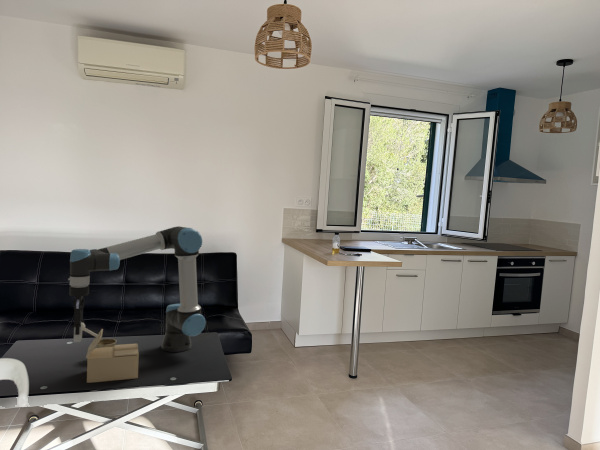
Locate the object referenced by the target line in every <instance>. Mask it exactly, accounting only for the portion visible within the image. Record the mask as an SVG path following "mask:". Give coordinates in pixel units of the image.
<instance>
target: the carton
mask: <svg viewBox="0 0 600 450" xmlns="http://www.w3.org/2000/svg"><path fill="white" fill-rule="evenodd" d="M139 357H140V355H139V345H138V343H126V344H115V347H104V348H97V347H95V348H94V350H93V351H92V352H91V354H90V355H89V357H88V358H87V361H86V362H87V367H86V369H87V370H86V384H87V383H89V384H90V383H101V382H109V381H110V382H113V381H121V380H131V379H138V378H139Z"/></svg>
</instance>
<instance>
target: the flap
mask: <svg viewBox="0 0 600 450" xmlns="http://www.w3.org/2000/svg"><path fill="white" fill-rule="evenodd" d="M81 331H82V332H85V333H88V334H90V335H91V336H93V337H95V338H94V339H93V340H92V342H91V344H90V345H89V346H88V348H87V351H86V355H85V359H88V357H89V355H90V354H91V352H92V351H93V350H94V348H97V346H96V345H97V344H98V343H99V341H100V340H101V339H103V332H104V329H103V328H101V329H100V331H99V332H98V333H95V332H94V331H92V330H90V329H88V328H86V324H85V322H84V323H83V322H81Z"/></svg>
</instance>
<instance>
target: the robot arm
mask: <svg viewBox="0 0 600 450" xmlns="http://www.w3.org/2000/svg"><path fill="white" fill-rule="evenodd" d="M202 245H203V238H202V235H201V233H200V232H199V231H198V230H196V229H195V228H193V227H186V226H173V227H169V228H166V229H163V230H160V231H156V232H155V234H152V235H148V236H144V237H141V238H137V239H133V240H130V241H129V240H128V241H126V242H125V241H124V242H121V243H117V244H114V245H110V246H106V247H102V248H99V249H98V248H95V249H87V248H76V249H72V250H71V251H70V256H69V257H70V259H69V267H70V268H69V278H68V279H67V281H69V287H68V288H69V292H68V295H69V297H74V299H73V301H72V303H73V325H72V326H71V327H72V328H73V343H82V339H83V331H81V322H83V323H84V324H85V320H84V307H85V304H84V303H85V298H84V297H85V296H88V295H89V294H90V286H89V285H90V279H91V278H90V277H91V276H90V272H102V271H103V272H104V271H114V270H115V271H116V270H118V269H119V267H120V264H121V263H120V262H121V260H125V259H129V258H132V257H135V256H138V255H142V254H146V253H149V252H153V251H156V250H161V251H164V250H168V249H172V250H174V257H176V258H177V262H178V263H177V265H178V282H179V283H178V284H179V285H178V286H179V303H173V304H169V305H167V306H166V310H165V334H164V336H163V339H162V342H161V349H162V350H163V351H165V352H172V353H178V352H184V351H188V350H190V349H191V348H192V340H191V337H196V336H198V335H200V334H201V333H202V332H203V331H204V329H205V327H206V323H207V321H206V318H205V316H204V315H202V307H201V305H200V304H198V303H199V302H198V301H199V300H198V298H199V297H198V281H197V280H198V279H197V278H198V277H197V257H198V256H199V254H200V249H201V247H202Z"/></svg>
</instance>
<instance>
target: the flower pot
mask: <svg viewBox="0 0 600 450" xmlns="http://www.w3.org/2000/svg"><path fill="white" fill-rule="evenodd" d="M117 341H118V340H117V339H115V338H101V340H100V341H99V343H98V344H97V345H96V348H104V347H115V345H117V344H116V343H117Z"/></svg>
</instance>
